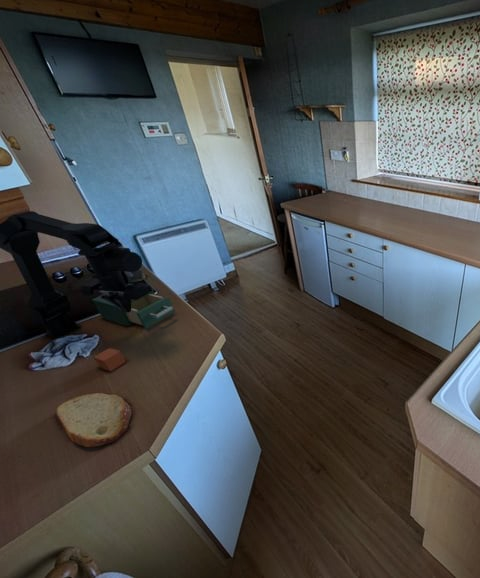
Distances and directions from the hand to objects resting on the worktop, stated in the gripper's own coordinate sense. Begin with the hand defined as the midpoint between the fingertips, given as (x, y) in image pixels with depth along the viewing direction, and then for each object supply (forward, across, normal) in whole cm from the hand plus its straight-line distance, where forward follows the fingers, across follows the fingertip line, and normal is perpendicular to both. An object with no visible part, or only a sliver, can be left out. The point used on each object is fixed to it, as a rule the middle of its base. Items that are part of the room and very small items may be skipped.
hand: (128, 311), depth 94 cm
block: (+12, 0, +12) cm, 17 cm away
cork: (+12, +39, -38) cm, 56 cm away
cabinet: (+12, +17, -14) cm, 25 cm away
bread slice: (+12, -13, +29) cm, 34 cm away
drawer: (+11, +6, -11) cm, 17 cm away
